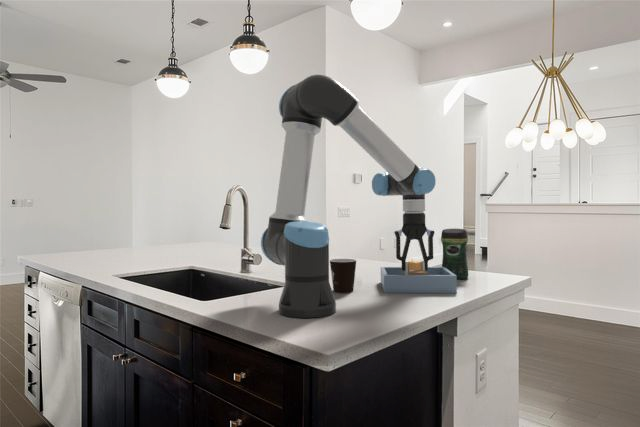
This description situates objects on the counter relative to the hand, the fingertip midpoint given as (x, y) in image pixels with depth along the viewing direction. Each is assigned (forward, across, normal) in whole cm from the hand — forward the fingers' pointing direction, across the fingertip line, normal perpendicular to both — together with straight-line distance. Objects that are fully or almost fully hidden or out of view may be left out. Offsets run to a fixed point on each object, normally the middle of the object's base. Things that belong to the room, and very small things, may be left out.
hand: (414, 279), depth 148 cm
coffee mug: (+2, +24, +9) cm, 26 cm away
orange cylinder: (+1, 0, 0) cm, 1 cm away
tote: (+2, 0, +4) cm, 5 cm away
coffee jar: (+2, -17, -15) cm, 23 cm away
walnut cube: (+1, 0, +8) cm, 8 cm away
